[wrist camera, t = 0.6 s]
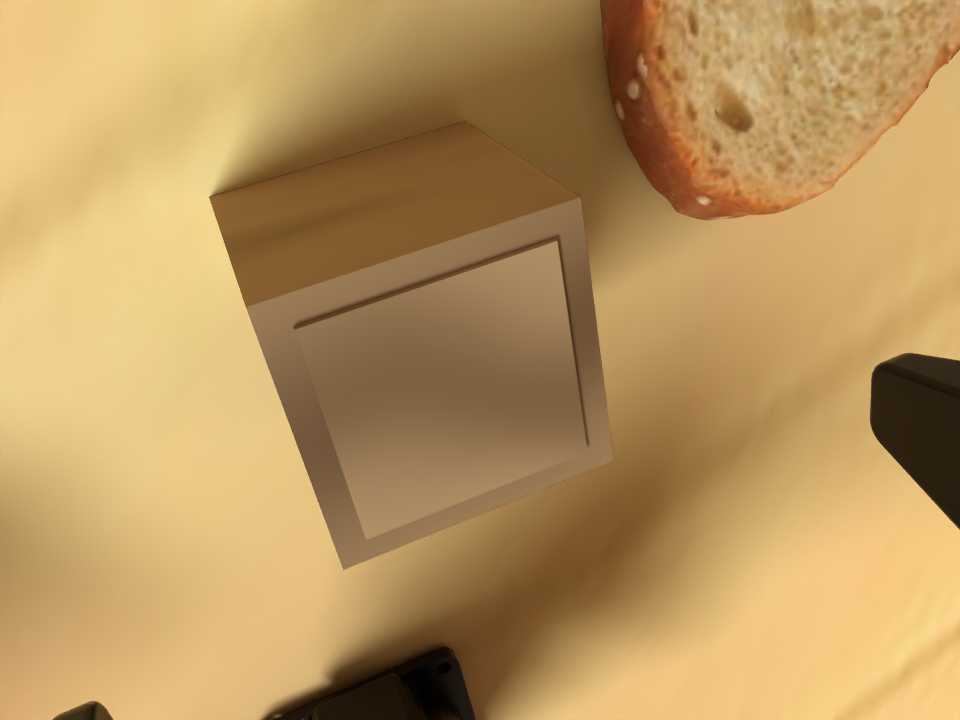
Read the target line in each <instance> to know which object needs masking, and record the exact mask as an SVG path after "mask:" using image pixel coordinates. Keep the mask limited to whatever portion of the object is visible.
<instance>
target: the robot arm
mask: <svg viewBox="0 0 960 720" xmlns="http://www.w3.org/2000/svg"><path fill="white" fill-rule="evenodd" d="M870 423H871V428H872V430H873V433H874V435H875V436H876V438H877V440H878V441H879V442H880V443H881V445H882V446H883V447H884V448H885V449H886V450H887V451H888V452H889V453H890V454H891V455H892V457H893V458H894V459H895V460H896V461H897V462H898V463H899V464H900V465H901V466H902V467H903V469H904V470H905V471H906V472H907V473H908V474H909V475H910V476H911V477H912V478H913V480H914V481H915V482H916V483H917V484H918V485H919V486H920V487H921V488H922V489H923V490H924V492H925V493H926V494H927V495H928V496H929V497H930V498H931V499H932V500H933V501H934V502H935V504H936V505H937V506H938V507H939V508H940V509H941V510H942V511H943V512H944V513H945V514H946V516H947V517H948V518H949V519H950V520H951V521H952V522H953V523H954V524H955V525H956V526H957V527H958V528H959V529H960V361H958V360H952V359H946V358H939V357H933V356H927V355H920V354H914V353H905V354H901V355H898V356H896V357H894V358H891V359H889V360H887V361H884V362H882V363H880V364H878V365H877V366H876V367H875V369H874V371H873V373H872V379H871V407H870ZM442 663H443V664H442ZM440 664H441V665H440ZM53 720H113V718H112V717H111V715H110V714H109V712H108V711H107V709H106V708H105V707H104V706H103V705H102V704H101V703H99V702H97V701H90V702H87V703H85V704H83V705H80V706H78V707H76V708H73V709H71V710H69V711H66V712H64V713H62V714H59V715H58V716H56V717H55V718H54V719H53ZM274 720H475V716H474V713H473V709H472V706H471V703H470V699H469V696H468V692H467V689H466V686H465V682H464V679H463V675H462V672H461V669H460V665H459V662H458V660H457V658H456V655H455V653H454V652H453V650H452V649H450V648H448V647H442V648H438V649H435V650H433V651H431V652H428V653H426V654H424V655H421V656H419V657H417V658H415V659H412V660H410V661H408V662H405V663H403V664H401V665H398V666H396V667H394V668H392V669H389V670H387V671H385V672H382V673H380V674H378V675H376V676H373V677H371V678H369V679H366V680H364V681H362V682H359V683H357V684H355V685H353V686H350V687H348V688H346V689H343V690H341V691H339V692H336V693H334V694H332V695H330V696H327V697H325V698H323V699H320V700H318V701H316V702H313V703H311V704H309V705H307V706H304V707H302V708H300V709H297V710H295V711H293V712H290V713H288V714H286V715H284V716H281V717H279V718H277V719H274Z"/></svg>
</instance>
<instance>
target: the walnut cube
mask: <svg viewBox="0 0 960 720" xmlns="http://www.w3.org/2000/svg"><path fill="white" fill-rule="evenodd" d="M209 198H210V201H211V204H212V207H213V210H214V213H215V216H216V219H217V222H218V225H219V228H220V231H221V234H222V237H223V240H224V243H225V246H226V249H227V252H228V255H229V258H230V261H231V264H232V267H233V270H234V273H235V276H236V279H237V282H238V285H239V288H240V291H241V294H242V297H243V300H244V303H245V306H246V308H247V311H248V314H249V316H250V319H251V322H252V325H253V327H254V330H255V333H256V335H257V338H258V341H259V343H260V346H261V349H262V351H263V354H264V357H265V360H266V362H267V365H268V368H269V370H270V373H271V376H272V378H273V381H274V384H275V386H276V389H277V392H278V395H279V397H280V400H281V403H282V405H283V408H284V411H285V413H286V416H287V419H288V421H289V424H290V427H291V430H292V432H293V435H294V438H295V440H296V443H297V446H298V448H299V451H300V454H301V457H302V459H303V462H304V465H305V467H306V470H307V473H308V475H309V478H310V481H311V483H312V486H313V489H314V492H315V494H316V497H317V500H318V502H319V505H320V508H321V510H322V513H323V516H324V518H325V521H326V524H327V527H328V529H329V532H330V535H331V537H332V540H333V543H334V545H335V548H336V551H337V553H338V556H339V559H340V562H341V564H342V567H343V570H344V569H346V568H349V567H351V566H354V565H356V564H359V563H361V562H364V561H366V560H369V559H371V558H374V557H376V556H379V555H381V554H384V553H386V552H388V551H391V550H393V549H396V548H398V547H401V546H403V545H406V544H408V543H411V542H413V541H416V540H418V539H421V538H423V537H426V536H428V535H430V534H433V533H435V532H438V531H440V530H443V529H445V528H448V527H450V526H453V525H455V524H458V523H460V522H463V521H465V520H468V519H470V518H473V517H475V516H477V515H480V514H482V513H485V512H487V511H490V510H492V509H495V508H497V507H500V506H502V505H505V504H507V503H510V502H512V501H515V500H517V499H519V498H522V497H524V496H527V495H529V494H532V493H534V492H537V491H539V490H542V489H544V488H547V487H549V486H552V485H554V484H557V483H559V482H562V481H564V480H566V479H569V478H571V477H574V476H576V475H579V474H581V473H584V472H586V471H589V470H591V469H594V468H596V467H599V466H601V465H604V464H606V463H608V462H611V461H613V452H612V444H611V436H610V428H609V420H608V412H607V404H606V395H605V387H604V379H603V371H602V363H601V355H600V347H599V339H598V331H597V323H596V315H595V307H594V299H593V291H592V283H591V275H590V267H589V259H588V251H587V243H586V235H585V227H584V219H583V211H582V202H581V197H580V196H578V195H577V194H575V193H574V192H572V191H571V190H569V189H568V188H566V187H565V186H563V185H562V184H560V183H559V182H557V181H556V180H554V179H553V178H551V177H550V176H548V175H546V174H545V173H543V172H542V171H540V170H539V169H537V168H536V167H534V166H533V165H531V164H530V163H528V162H527V161H525V160H524V159H522V158H521V157H519V156H518V155H516V154H515V153H513V152H512V151H510V150H509V149H507V148H506V147H504V146H503V145H501V144H500V143H498V142H497V141H495V140H494V139H492V138H491V137H489V136H488V135H486V134H484V133H483V132H481V131H480V130H478V129H477V128H475V127H474V126H472V125H471V124H469V123H468V122H466V121H463V122H460V123H457V124H453V125H450V126H447V127H443V128H440V129H437V130H433V131H430V132H426V133H423V134H420V135H416V136H413V137H410V138H406V139H403V140H400V141H396V142H393V143H390V144H386V145H383V146H379V147H376V148H373V149H369V150H366V151H363V152H359V153H356V154H353V155H349V156H346V157H343V158H339V159H336V160H332V161H329V162H326V163H322V164H319V165H316V166H312V167H309V168H306V169H302V170H299V171H296V172H292V173H289V174H285V175H282V176H279V177H275V178H272V179H269V180H265V181H262V182H259V183H255V184H252V185H249V186H245V187H242V188H238V189H235V190H232V191H228V192H225V193H222V194H218V195H215V196H212V197H209Z"/></svg>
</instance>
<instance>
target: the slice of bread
mask: <svg viewBox="0 0 960 720" xmlns="http://www.w3.org/2000/svg"><path fill="white" fill-rule="evenodd" d="M600 4H601V13H602V27H603V44H604V52H605V57H606V62H607V68H608V77H609V84H610V90H611V96H612V100H613V104H614V107H615V110H616V113H617V115H618V118H619V120H620V123H621V126H622V128H623V131H624V134H625V138H626V141H627V144H628V146H629V148H630V150H631V151H632V153H633V155H634V157H635V158H636V160H637V162H638V164H639V166H640V168H641V169H642V171H643V172H644V174H645V176H646V177H647V179H648V180H649V181H650V183H651V184H652V186H653V187H654V188H655V189H656V190H657V191H658V192H659V193H661V194H662V195H663V196H665V197H666V198H667V199H668V200H669V201H670V203H671V204H672V205H673V207H674V209H675V210H676V211H677V212H679V213H682V214H684V215H687V216H690V217H694V218H697V219H701V220H716V219H726V218H736V217H742V216H746V215H763V214H773V213H778V212H781V211H784V210H787V209H790V208H792V207H794V206H796V205H798V204H800V203H803V202H805V201H807V200H810V199H812V198H814V197H816V196H818V195H820V194H821V193H823V192H825V191H827V190H829V189H831V188H832V187H833V186H834V184H835V183H836V181H837V180H838V179H839V178H840V177H841V176H842V175H844V174H845V173H846V172H847V171H848V170H849V169H850V168H851V167H852V166H853V165H854V164H855V163H856V162H857V161H858V160H859V159H860V158H861V157H862V156H863V155H865V154H866V152H867V151H868V150H869V149H871V148H872V147H873V146H874V145H875V143H876V142H877V140H878V139H879V138H880V136H881V135H882V134H883V133H884V132H885V131H887V130H888V129H889V128H891V127H892V126H894V125H897V124H898V122H899V121H900V119H901V118H902V117H903V116H904V114H905V113H906V112H907V111H908V110H909V109H910V108H911V107H912V105H913V104H914V102H915V101H916V100H917V99H918V97H919V96H920V95H921V94H922V93H923V92H924V91H925V90H926V89H927V88H928V85H929V82H930V79H931V78H932V76H933V75H934V74H935V72H936V71H938V69H939V68H940V67H942V66H943V65H944V64H948V62H949V60H951V59H952V58H953V56H954V55H955V54H956V53H957V52H958V51H959V50H960V0H600Z"/></svg>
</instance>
